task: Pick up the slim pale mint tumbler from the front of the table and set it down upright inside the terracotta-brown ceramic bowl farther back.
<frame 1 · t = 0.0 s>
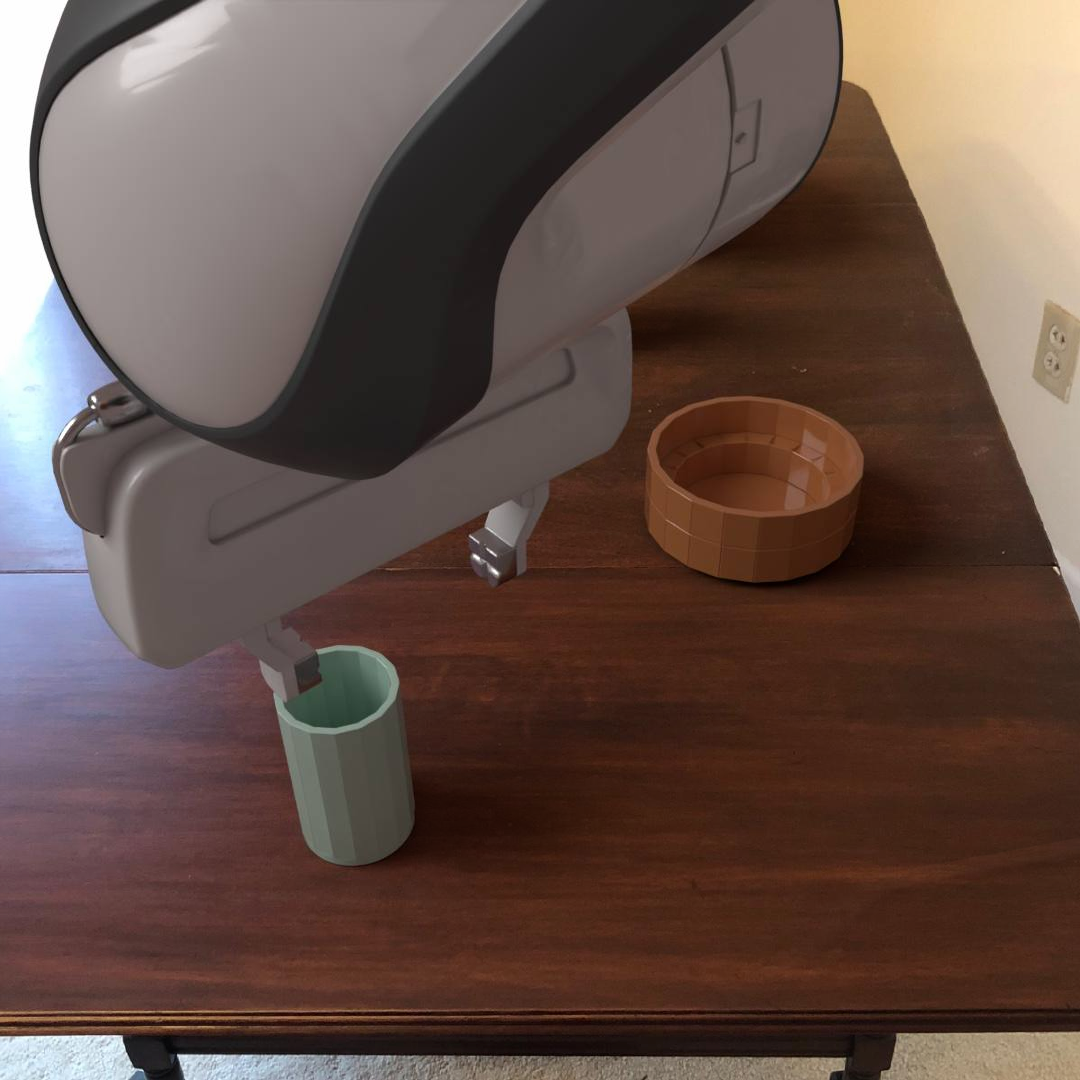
hand: (401, 626, 46), 21 cm above the table, tool pointing down, fingers open, 8 cm apart
cup: (568, 341, 106), on the table
bowl: (646, 236, 123), on the table
white cup: (302, 502, 88), on the table
cat figurine: (354, 351, 106), on the table
tumbler: (358, 820, 65), on the table
brown bowl: (746, 523, 85), on the table
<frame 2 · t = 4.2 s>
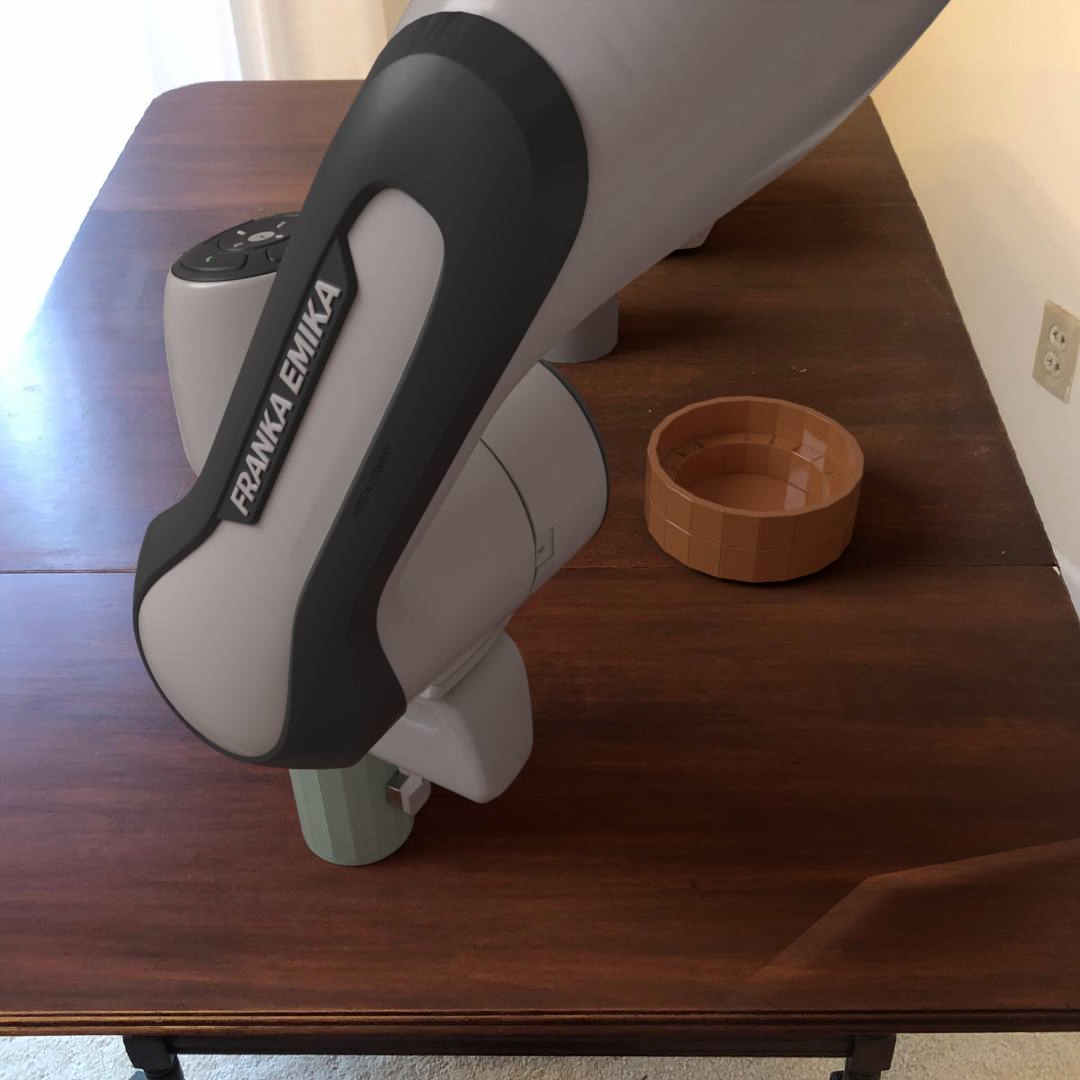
hand: (351, 774, 63), 4 cm above the table, tool pointing down, fingers closed on tumbler, 6 cm apart
tumbler: (358, 820, 65), on the table, touching gripper
everything else where it was.
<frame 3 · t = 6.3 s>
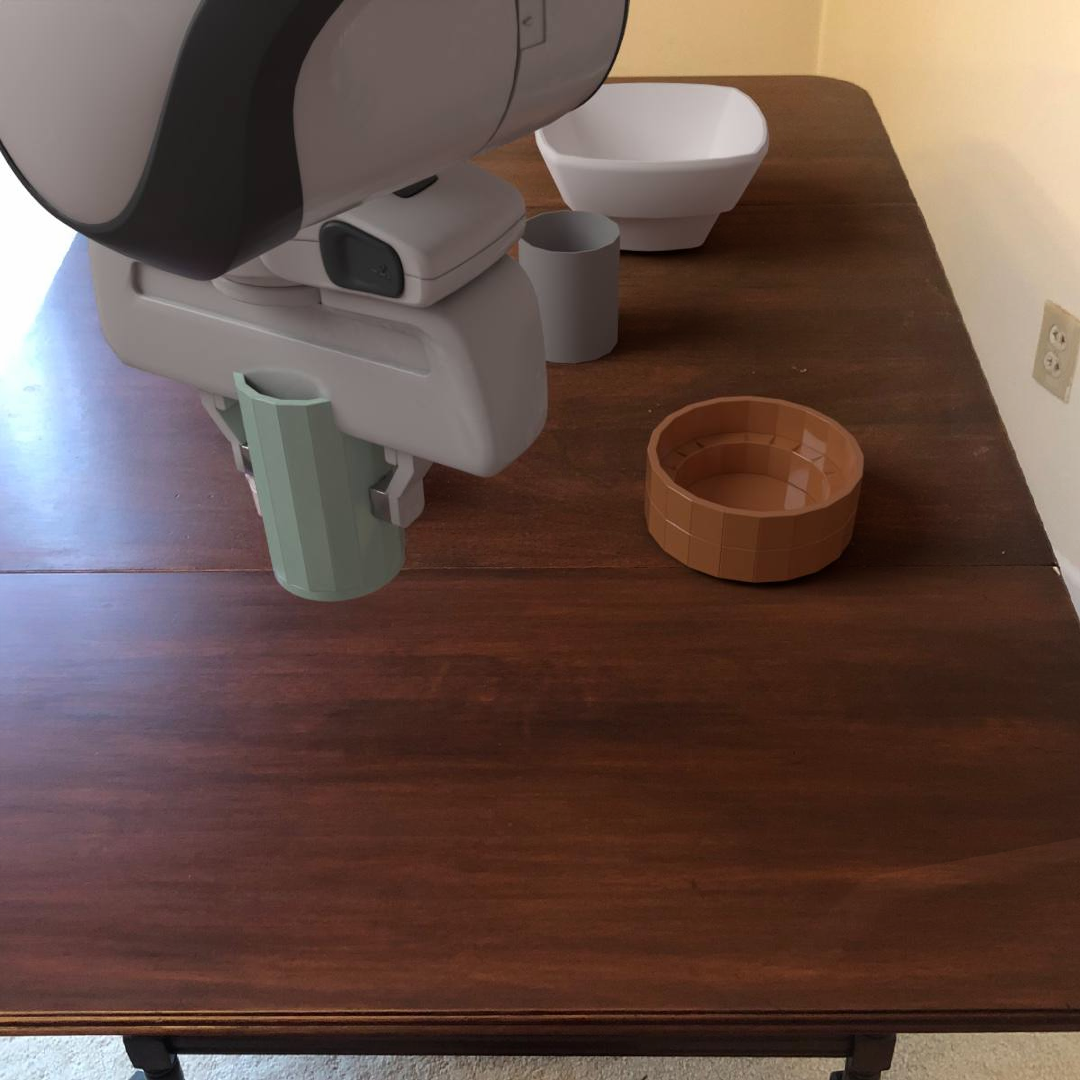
hand: (330, 492, 53), 21 cm above the table, tool pointing down, fingers closed on tumbler, 6 cm apart
tumbler: (339, 558, 55), point 17 cm above the table, touching gripper
everything else where it was.
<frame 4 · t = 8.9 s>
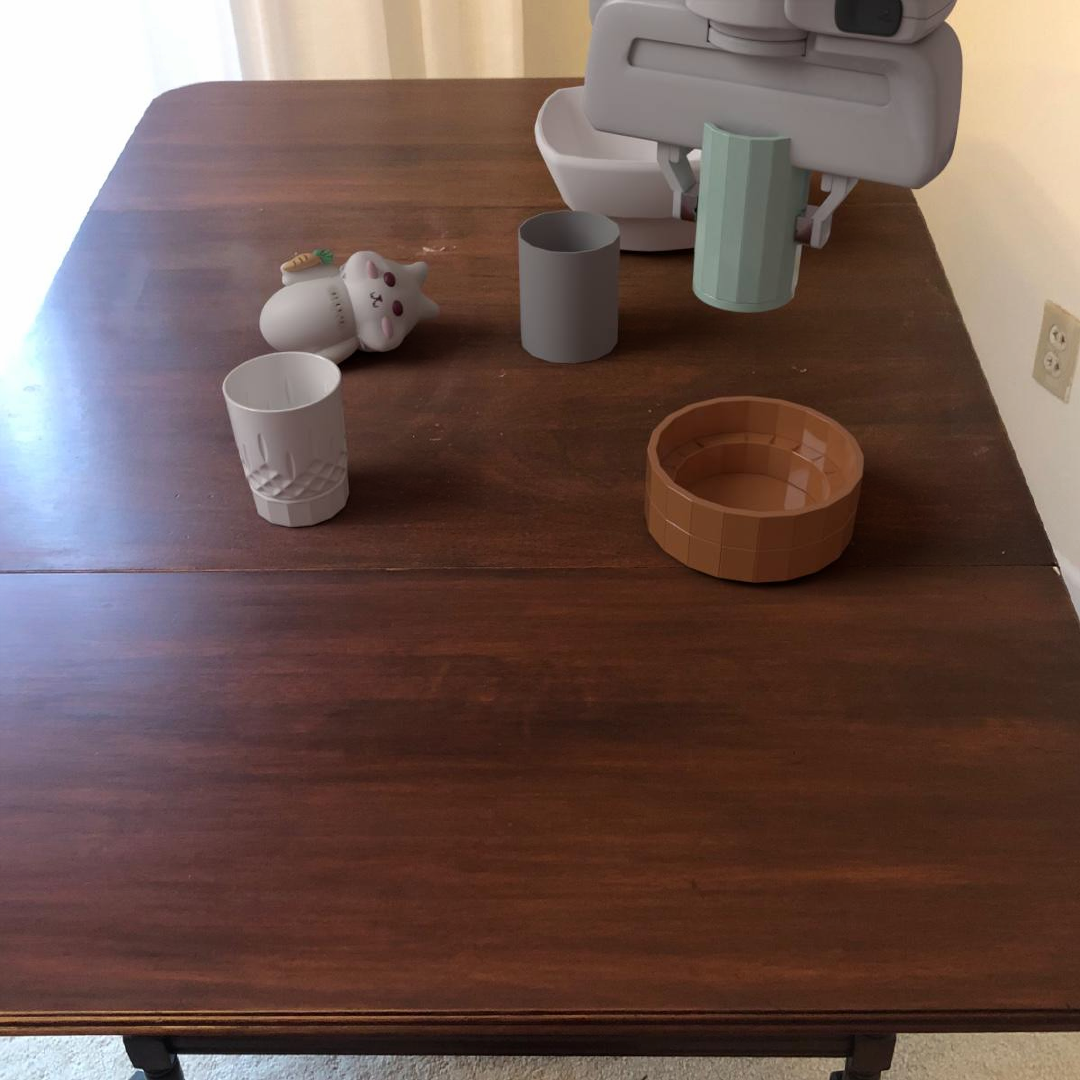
hand: (749, 230, 70), 23 cm above the table, tool pointing down, fingers closed on tumbler, 6 cm apart
tumbler: (743, 288, 72), point 19 cm above the table, touching gripper
everything else where it was.
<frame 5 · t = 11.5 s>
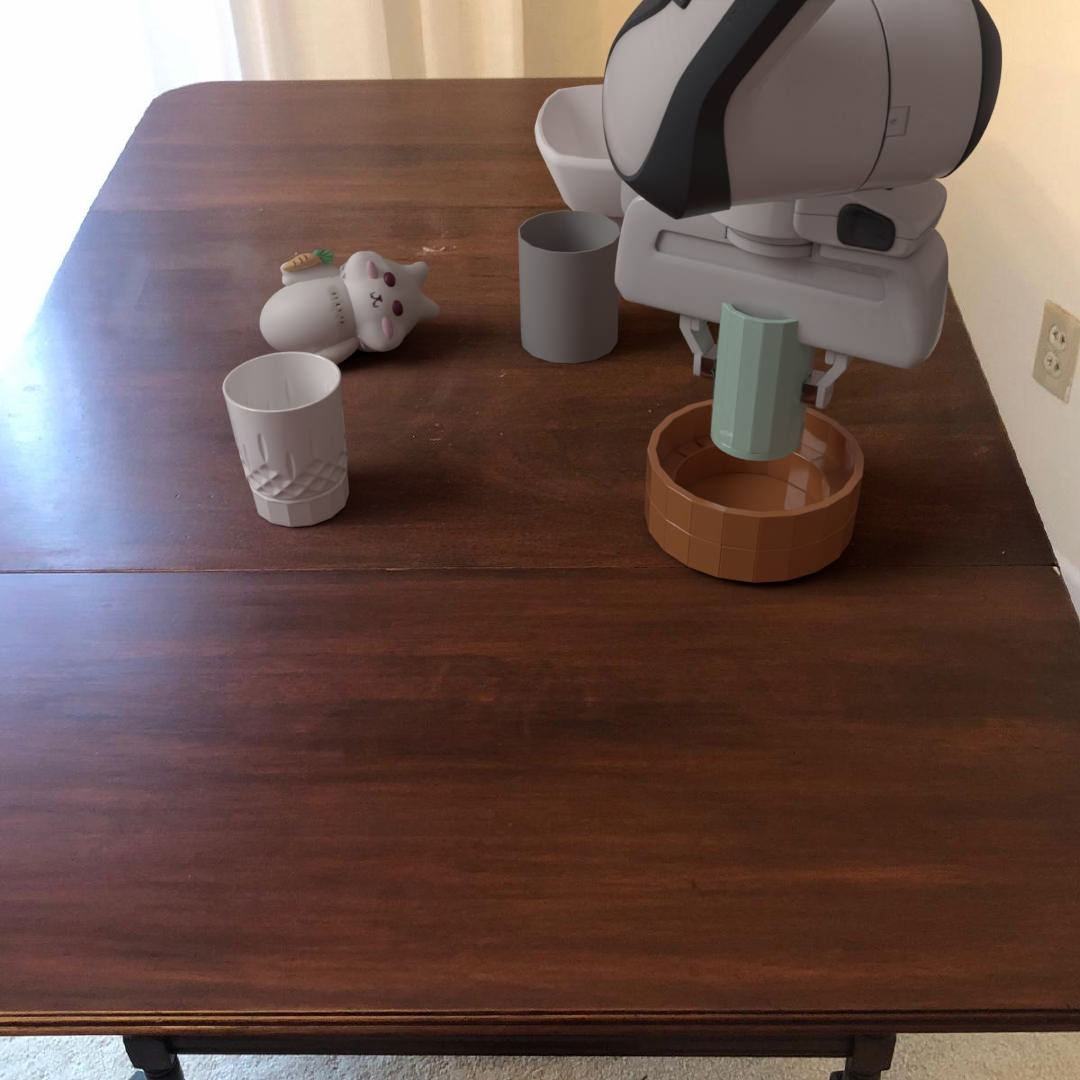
hand: (761, 388, 79), 11 cm above the table, tool pointing down, fingers closed on tumbler, 6 cm apart
tumbler: (755, 435, 81), point 7 cm above the table, touching gripper
everything else where it was.
when the fingers open (4 cm above the table, at t = 13.7 s): tumbler stays where it is, resting on brown bowl.
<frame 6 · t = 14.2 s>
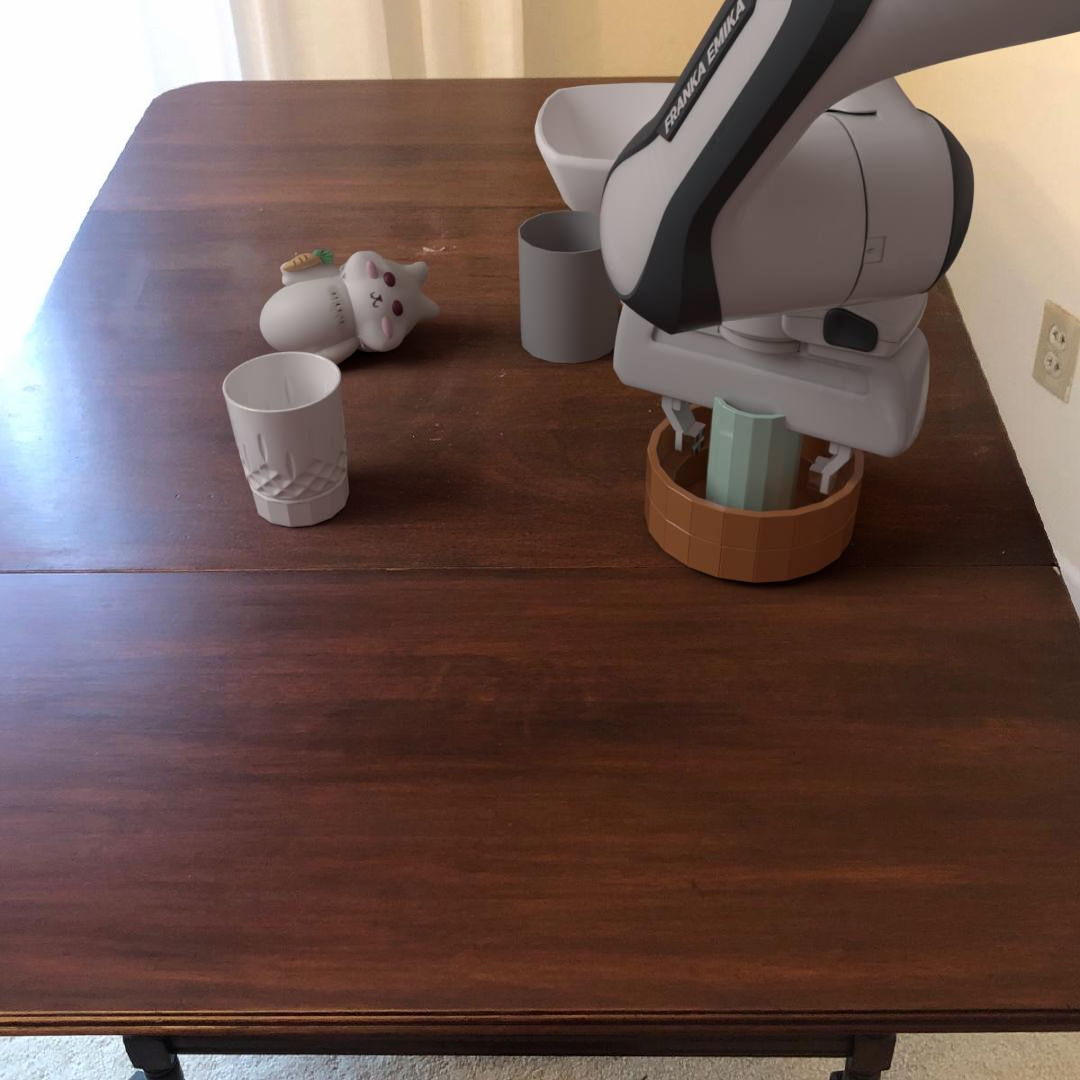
hand: (753, 468, 82), 5 cm above the table, tool pointing down, fingers open, 8 cm apart
tumbler: (747, 516, 85), point 1 cm above the table, touching brown bowl
everything else where it was.
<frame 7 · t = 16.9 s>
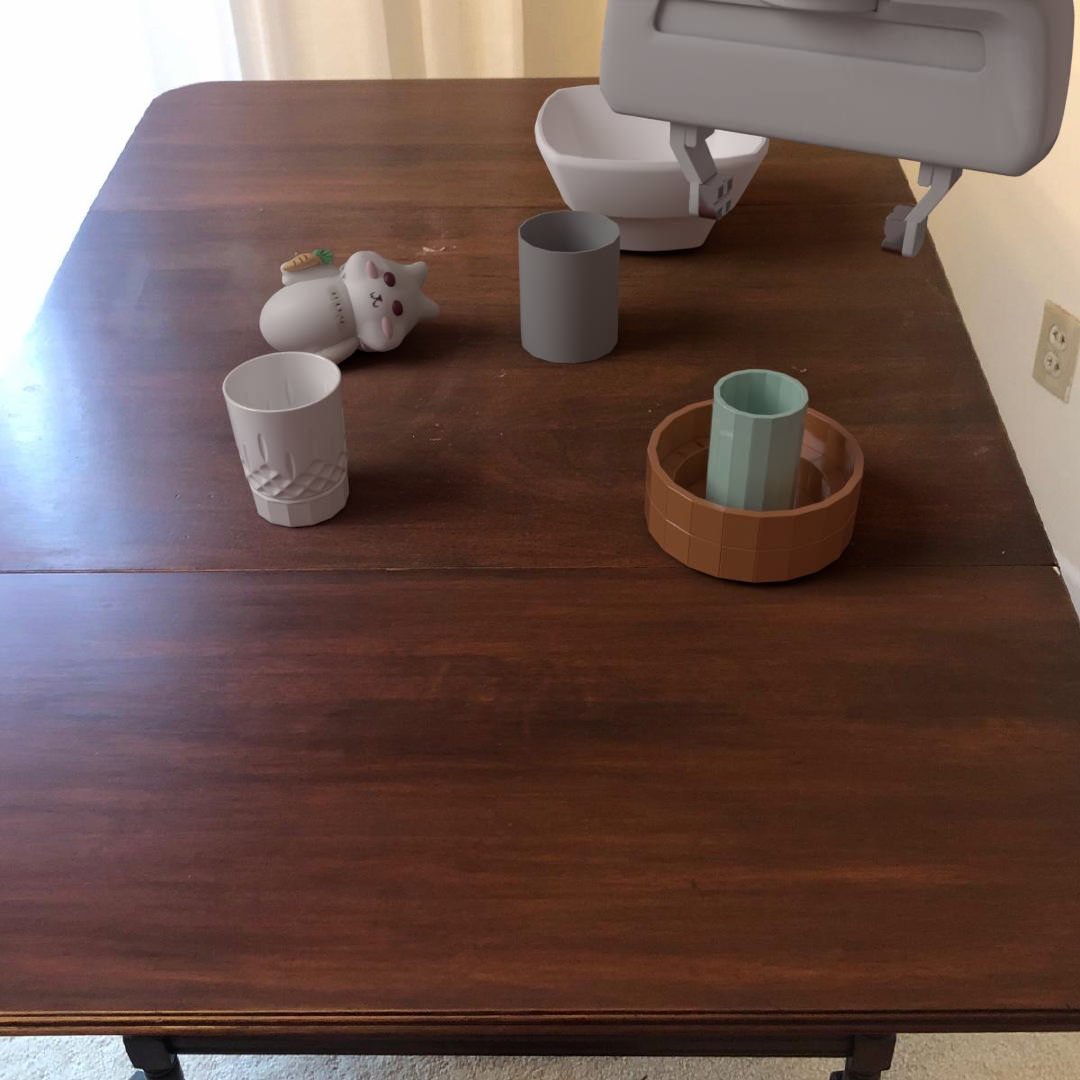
hand: (802, 232, 57), 28 cm above the table, tool pointing down, fingers open, 8 cm apart
nothing on the table moved.
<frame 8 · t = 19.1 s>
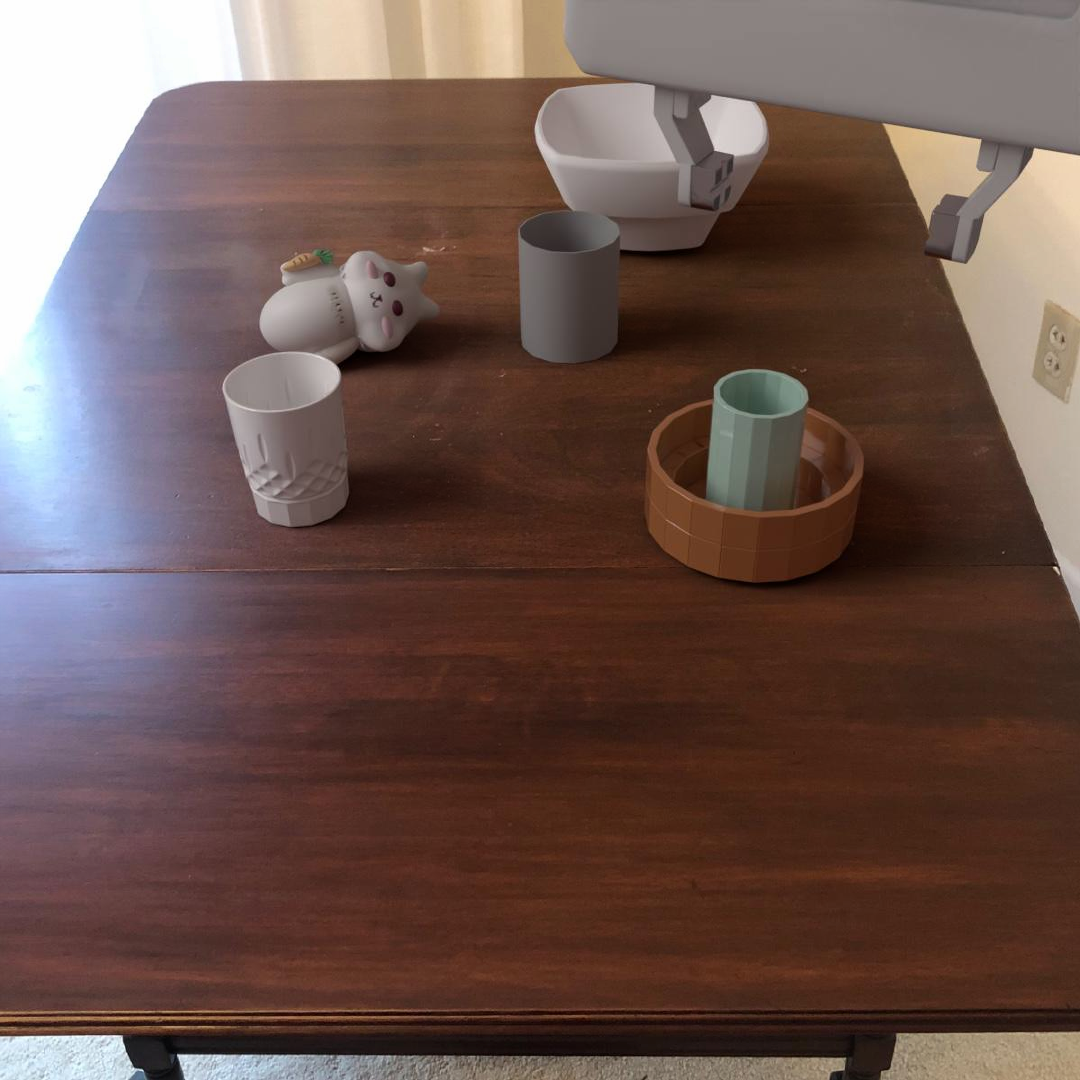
hand: (821, 228, 45), 33 cm above the table, tool pointing down, fingers open, 8 cm apart
nothing on the table moved.
at the end: tumbler inside the target area in the brown bowl (0.0 cm from its centre), point 0.6 cm above the brown bowl's base; tumbler tilted 0°; the gripper is holding nothing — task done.
